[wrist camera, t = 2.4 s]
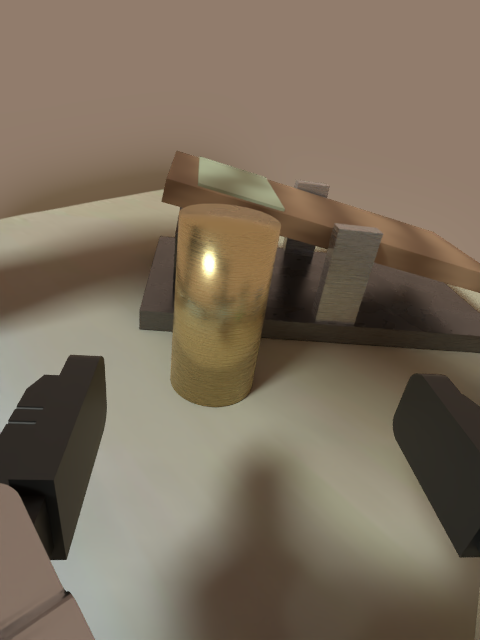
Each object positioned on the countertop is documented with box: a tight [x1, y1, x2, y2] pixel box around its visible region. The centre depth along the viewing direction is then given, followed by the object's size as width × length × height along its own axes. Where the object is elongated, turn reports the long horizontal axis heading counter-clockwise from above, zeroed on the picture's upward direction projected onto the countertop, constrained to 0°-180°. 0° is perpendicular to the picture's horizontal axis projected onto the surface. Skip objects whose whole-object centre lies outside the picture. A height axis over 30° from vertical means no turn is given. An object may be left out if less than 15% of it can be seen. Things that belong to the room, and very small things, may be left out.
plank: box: [162, 151, 480, 293], centre depth 33 cm, size 26×11×2 cm, turn 94°
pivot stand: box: [139, 180, 480, 353], centre depth 34 cm, size 28×15×8 cm, turn 94°
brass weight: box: [170, 204, 281, 407], centre depth 22 cm, size 5×5×10 cm
